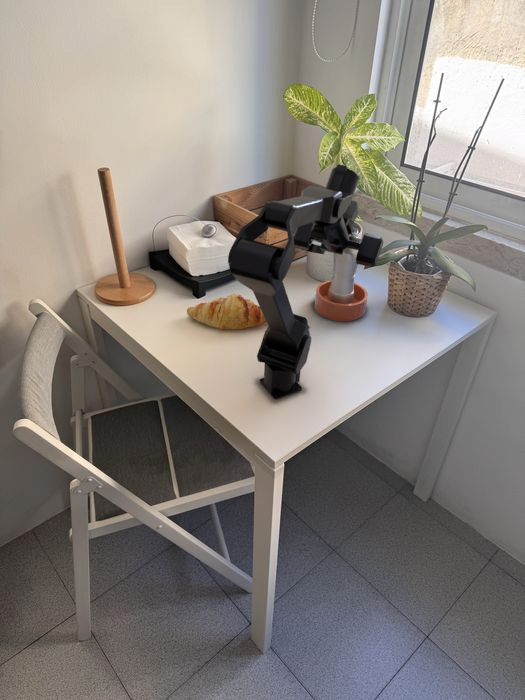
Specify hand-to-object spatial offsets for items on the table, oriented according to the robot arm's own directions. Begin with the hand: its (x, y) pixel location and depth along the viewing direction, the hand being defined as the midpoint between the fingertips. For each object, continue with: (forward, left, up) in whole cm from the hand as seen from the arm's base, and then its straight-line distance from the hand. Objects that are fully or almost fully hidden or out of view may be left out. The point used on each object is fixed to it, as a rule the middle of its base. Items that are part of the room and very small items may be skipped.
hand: (342, 256), depth 116 cm
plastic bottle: (+3, +2, -15) cm, 15 cm away
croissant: (-24, +9, -16) cm, 30 cm away
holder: (+3, +2, -16) cm, 16 cm away
